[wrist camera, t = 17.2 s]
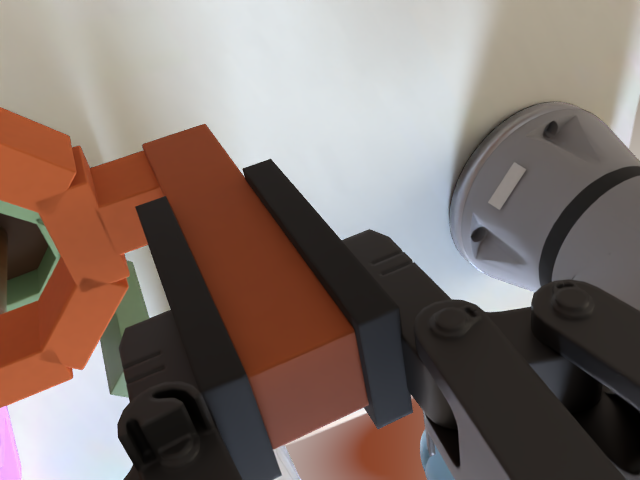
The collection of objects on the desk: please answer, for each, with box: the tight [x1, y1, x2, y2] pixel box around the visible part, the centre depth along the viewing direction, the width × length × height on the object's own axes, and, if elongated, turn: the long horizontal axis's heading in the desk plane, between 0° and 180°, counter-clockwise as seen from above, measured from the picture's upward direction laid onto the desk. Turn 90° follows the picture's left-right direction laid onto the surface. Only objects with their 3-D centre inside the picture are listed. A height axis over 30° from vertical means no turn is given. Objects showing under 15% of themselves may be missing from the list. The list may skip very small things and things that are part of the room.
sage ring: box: [0, 200, 149, 397], centre depth 31 cm, size 12×8×10 cm
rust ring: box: [0, 107, 369, 449], centre depth 14 cm, size 12×8×10 cm
